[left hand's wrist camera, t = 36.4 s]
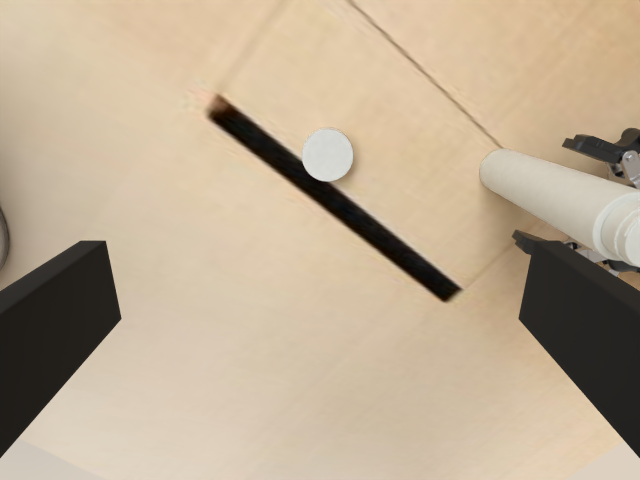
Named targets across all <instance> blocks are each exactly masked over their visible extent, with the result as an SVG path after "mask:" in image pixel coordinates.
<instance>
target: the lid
mask: <svg viewBox="0 0 640 480" xmlns="http://www.w3.org/2000/svg"><path fill="white" fill-rule="evenodd" d="M302 161H303V165H304V167H305V169H306V170H307V172H308V173H309V174H310V175H311V176H313V177H314V178H316V179H318V180H321V181H334V180H337V179H339V178H341V177H343V176H344V175H345V174H346V173H347V172H348V171H349V169H350V167H351V165H352V162H353V149H352V146H351V143H350V141H349V140H348V138H347V137H346V135H345V134H344V133H342V132H341V131H339V130H337V129H335V128H330V127H325V128H320V129H318V130H316V131H314V132H313V133H311V134H310V135H309V137H308V138H307V140H306V141H305V144H304V147H303V150H302Z"/></svg>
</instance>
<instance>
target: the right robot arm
mask: <svg viewBox="0 0 640 480" xmlns="http://www.w3.org/2000/svg"><path fill="white" fill-rule="evenodd" d="M562 147H565V148H568V149H570V150H573V151H575V152H578V153H581V154H583V155H586V156H588V157H591V158H594V159H596V160H600V161H603V162H605V163H606V166H607V168H608V171H609V174H608V179H609V180H610V181H613V182H616V183H619V184H622V185H626V186H629V187H632V188H635V189H638V190H640V158H639V156H638V154H639V153H640V130H638V129H635V128H628V129H626V130H625V131H624V132H623V133H622V136H621V139H620V140H619V141H618V142H617V143H615V144H612V143H609V142H607V141H604V140H602V139H599V138H596V137H594V136H589V135H583V134H581V135H576V136H575V138H574V140H573V139H568V138H566V139H565V141H564V143H563V145H562ZM512 237H513V238H514V239H515V240H516V243H515V244H516V245H517V246H518V247H519V248H520V249H521V250H523V251H524V252H525V253H526V254H529V255H532V250H533V245H534V241H547V240H544V239H542V238H539V237H536V236H533V235H530V234H527V233H524V232H522V231H519V230H515V232H514V233H513V235H512ZM562 243H564V244H565V245H567V246H569V247H570V248H572V249H573V250H575V251H576V252H578V253H580V254H581V255H583V256H584V257H586V258H588V259H589V260H591V261H592V262H594V263H596V262H600V261H602V263H603V264H604V266H603V267H602V268H604V269H605V270H607V271H608V272H610V273H612V274H613V275H615V276H616V277H617V276H618V274H619V273H620V272H626V271H634V272H637V273H640V267H637V266H632V265H629V264H627V263H626V262H624V261H617V260H611V259H608V258H606V257H604V256H602V255H600V254H599V253H597V252H595V251H594V250H592V249H590V248H589V247H587V246H585V245H583V244H582V243H580V242H578V241H577V240H575V239H573V238H572V237H569V240H566V241H563V242H562Z"/></svg>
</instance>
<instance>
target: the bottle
mask: <svg viewBox="0 0 640 480" xmlns="http://www.w3.org/2000/svg"><path fill="white" fill-rule="evenodd" d="M479 174H480V179H481V181H482V183H483V184H484V185H485V186H486V187H487V188H489V189H490V190H492V191H494V192H495V193H497V194H499V195H500V196H502V197H504V198H506V199H507V200H509V201H511V202H512V203H514V204H516V205H517V206H519V207H521V208H522V209H524V210H526V211H528V212H529V213H531V214H533V215H534V216H536V217H538V218H539V219H541V220H543V221H544V222H546V223H548V224H550V225H551V226H553V227H555V228H556V229H558V230H560V231H561V232H563V233H565V234H567V235H568V236H570V237H572V238H573V239H575V240H577V241H578V242H580V243H582V244H583V245H585V246H587V247H589V248H590V249H592V250H594V251H595V252H597V253H599V254H600V255H602V256H604V257H606V258H608V259H611V260H617V261H624V262H626V263H627V264H629V265H632V266H637V267H640V190H638V189H635V188H632V187H629V186H626V185H622V184H619V183H616V182H613V181H610V180H606V179H603V178H600V177H597V176H594V175H590V174H587V173H584V172H581V171H578V170H574V169H571V168H568V167H565V166H562V165H559V164H555V163H552V162H549V161H546V160H543V159H539V158H536V157H533V156H530V155H527V154H523V153H520V152H517V151H514V150H511V149H505V148H503V149H498V150H495V151H493V152H491V153H490V154H488V155H487V156H486V157H485V159H484V160H483V162H482V164H481V166H480V172H479Z"/></svg>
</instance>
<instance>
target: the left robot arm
mask: <svg viewBox="0 0 640 480" xmlns="http://www.w3.org/2000/svg"><path fill="white" fill-rule="evenodd" d="M7 253H8V232H7V227H6V224H5V220H4V218H3V215H2V213H1V211H0V269H1V268H2V266H3V264H4V262H5V260H6V257H7ZM120 320H121V314H120V309H119V304H118V299H117V294H116V289H115V284H114V279H113V274H112V269H111V265H110V260H109V255H108V250H107V245H106V241H79V242H78V243H76V244H75V245H73V246H71V247H70V248H68V249H67V250H65V251H64V252H62V253H60V254H59V255H57V256H56V257H54V258H52V259H51V260H49V261H48V262H46V263H44V264H43V265H41V266H40V267H38V268H36V269H35V270H33V271H32V272H30V273H28V274H27V275H25V276H24V277H22V278H21V279H19V280H17V281H16V282H14V283H13V284H11V285H9V286H8V287H6V288H5V289H3V290H1V291H0V458H1V457H2V456H3V454H4V453H5V452H6V451H7V450H8V449H9V447H10V446H11V445H12V444H13V443H14V442H15V441H16V439H17V438H18V437H19V436H20V435H21V434H22V433H23V431H24V430H25V429H26V428H27V427H28V426H29V425H30V423H31V422H32V421H33V420H34V419H35V418H36V416H37V415H38V414H39V413H40V412H41V411H42V410H43V408H44V407H45V406H46V405H47V404H48V403H49V402H50V400H51V399H52V398H53V397H54V396H55V395H56V393H57V392H58V391H59V390H60V389H61V388H62V387H63V385H64V384H65V383H66V382H67V381H68V380H69V379H70V377H71V376H72V375H73V374H74V373H75V372H76V370H77V369H78V368H79V367H80V366H81V365H82V364H83V362H84V361H85V360H86V359H87V358H88V357H89V356H90V354H91V353H92V352H93V351H94V350H95V349H96V347H97V346H98V345H99V344H100V343H101V342H102V341H103V339H104V338H105V337H106V336H107V335H108V334H109V333H110V331H111V330H112V329H113V328H114V327H115V326H116V324H117V323H118V322H119V321H120ZM519 320H520V321H521V322H522V323H523V324H524V326H525V327H526V328H527V329H528V330H529V331H530V333H531V334H532V335H533V336H534V337H535V338H536V339H537V341H538V342H539V343H540V344H541V345H542V346H543V347H544V349H545V350H546V351H547V352H548V353H549V354H550V356H551V357H552V358H553V359H554V360H555V361H556V362H557V364H558V365H559V366H560V367H561V368H562V369H563V370H564V372H565V373H566V374H567V375H568V376H569V377H570V379H571V380H572V381H573V382H574V383H575V384H576V385H577V387H578V388H579V389H580V390H581V391H582V392H583V393H584V395H585V396H586V397H587V398H588V399H589V400H590V402H591V403H592V404H593V405H594V406H595V407H596V408H597V410H598V411H599V412H600V413H601V414H602V415H603V416H604V418H605V419H606V420H607V421H608V422H609V423H610V425H611V426H612V427H613V428H614V429H615V430H616V431H617V433H618V434H619V435H620V436H621V437H622V438H623V439H624V441H625V442H626V443H627V444H628V445H629V446H630V448H631V449H632V450H633V451H634V452H635V453H636V454H637V456H638V457H639V458H640V291H639V290H637V289H635V288H634V287H632V286H631V285H629V284H627V283H626V282H624V281H623V280H621V279H619V278H618V277H616V276H615V275H613V274H612V273H610V272H608V271H607V270H605V269H604V268H602V267H600V266H599V265H597V264H596V263H594V262H592V261H591V260H589V259H588V258H586V257H584V256H583V255H581V254H580V253H578V252H576V251H575V250H573V249H572V248H570V247H569V246H567V245H565V244H564V243H562V242H561V241H534V245H533V250H532V255H531V260H530V265H529V269H528V274H527V279H526V284H525V289H524V294H523V299H522V304H521V309H520V314H519Z"/></svg>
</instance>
